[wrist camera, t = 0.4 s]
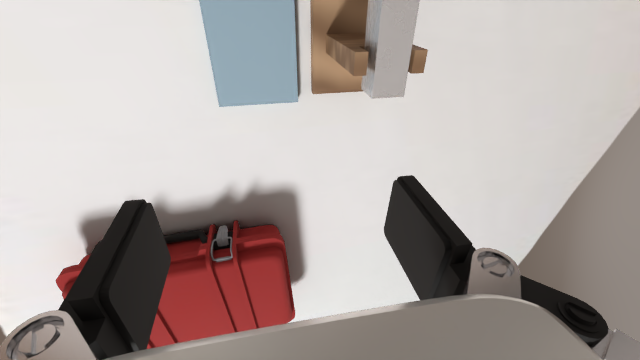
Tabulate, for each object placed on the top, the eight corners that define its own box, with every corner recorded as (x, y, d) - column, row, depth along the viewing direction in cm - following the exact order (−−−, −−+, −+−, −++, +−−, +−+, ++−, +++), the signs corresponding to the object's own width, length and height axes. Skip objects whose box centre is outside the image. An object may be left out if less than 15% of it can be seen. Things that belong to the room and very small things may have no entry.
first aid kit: (131, 325, 58) (115, 372, 51) (71, 242, 45) (38, 289, 38) (292, 293, 62) (297, 332, 55) (279, 209, 49) (284, 246, 42)
